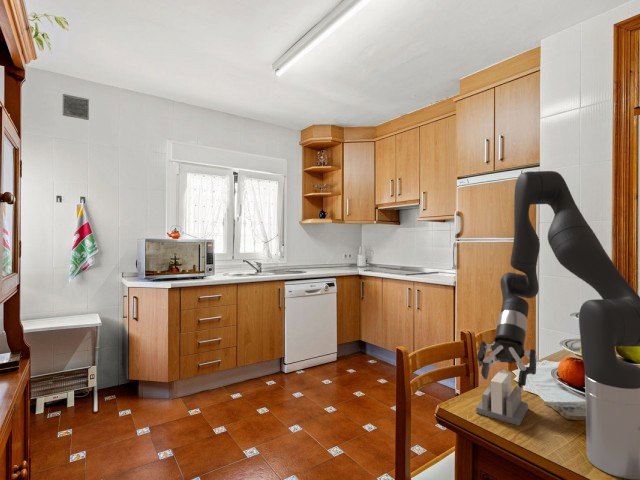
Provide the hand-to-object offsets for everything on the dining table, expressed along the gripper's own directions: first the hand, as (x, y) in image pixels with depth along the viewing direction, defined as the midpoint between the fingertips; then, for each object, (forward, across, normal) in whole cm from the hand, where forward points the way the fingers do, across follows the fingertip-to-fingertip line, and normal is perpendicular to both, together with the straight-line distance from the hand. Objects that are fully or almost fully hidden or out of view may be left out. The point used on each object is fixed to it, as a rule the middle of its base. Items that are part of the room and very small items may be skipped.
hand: (502, 381), depth 93 cm
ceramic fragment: (-2, +14, +13) cm, 20 cm away
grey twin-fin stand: (+5, 0, +5) cm, 8 cm away
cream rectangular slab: (+5, 0, +4) cm, 6 cm away
